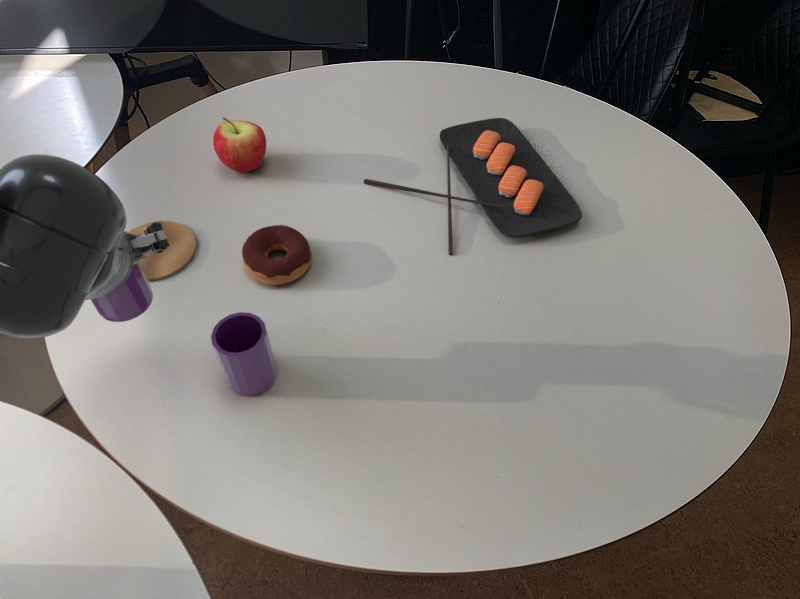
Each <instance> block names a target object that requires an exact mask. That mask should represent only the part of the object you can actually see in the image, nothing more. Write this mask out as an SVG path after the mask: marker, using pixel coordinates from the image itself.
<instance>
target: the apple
mask: <svg viewBox="0 0 800 599" xmlns="http://www.w3.org/2000/svg"><path fill="white" fill-rule="evenodd" d="M222 120H224V122H222V123H220V124H219V125H218V126H217V127H216V129H215V131H214V133H213V136H212V137H213V138H212V143H213V144H212V145H213V149H214V152H215V154H216V155H217V158H218V160H220V162H221V163H222V164H224V165H225V167H227V168H228V169H230V170H232V171H234V172H236V173H237V172H238V173H247V172H251V171H253V170H255V169H257V168H258V167H259V166H260V165H261V164H262V162H263V160H264V158H265V155H266V152H267V138H266V134H265V132H264V130H263V128H262V127H261V126H259V125H258V124H256V123H254V122H250V121H247V120H242V119H232V120H228V118H226V117H224V116H222Z"/></svg>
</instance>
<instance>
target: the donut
mask: <svg viewBox="0 0 800 599" xmlns="http://www.w3.org/2000/svg"><path fill="white" fill-rule="evenodd" d="M277 250H279V251H283V252H286V255H285V256H284V257H281V258H279V259H274V258H269V254H270V253H271V252H273V251H277ZM241 257H242V261H243V265H244V267H245V269H246V270H245V271H247V273H248V275H250V276H251V277H252V278H253V279H254V280H255V281H256V282H259V283H261V284H263V285H266V286H279V285H284V284H288V283H291V282H293V281H295V280H297V279H299V278H300V277H301V276H303V275H304V274H305V273H306V271H307V270H308V269H309V267H310V265H311V263H312V260H313V254H312V251H311V247H310V243H309V242H308V239H307V238H306V237H305V235H303V233H301V232H300V231H299V230H297V229H295V228H293V227H291V226H288V225H283V224H281V225H279V224H278V225H277V224H275V225H269V226H268V225H267V226H264V227H261V228H258V229H257V230H255V231H254V232H252V233H251V234H249V235H248V236H247V238H246V239H245V241H244V243H243V246H242V249H241Z"/></svg>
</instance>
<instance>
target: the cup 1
mask: <svg viewBox="0 0 800 599" xmlns="http://www.w3.org/2000/svg"><path fill="white" fill-rule="evenodd" d="M153 299H154V292H153V289H152V287H151V284H150V281H148V280H147V278H146V276H145V273H144V271H143V269H142V267H141V265H140V263H137V264H134V265H133V269H132V271H131V274H130V276H129V277H128V279H127V280H126V282H125V283H124V284H123V285H122V286H121V287H120V288H118V289H117V290H116V291H114V292H112V293H110V294H108V295H105V296H102V297H98V298H94V299H89V300H90V301H91V303H92V305H93V307H94V308H95V310H96V312H97V313H98V315H99V316H100V317H101V318H102V319H104V320H106V321H108V322H111V323H112V322H113V323H122V322H128V321H132V320H134V319H136V318H138V317H139V316H141V315H143V314H144V313H145V312H146V311H147V310H148V309H149V308H150V307H151V304H152V302H153Z"/></svg>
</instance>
